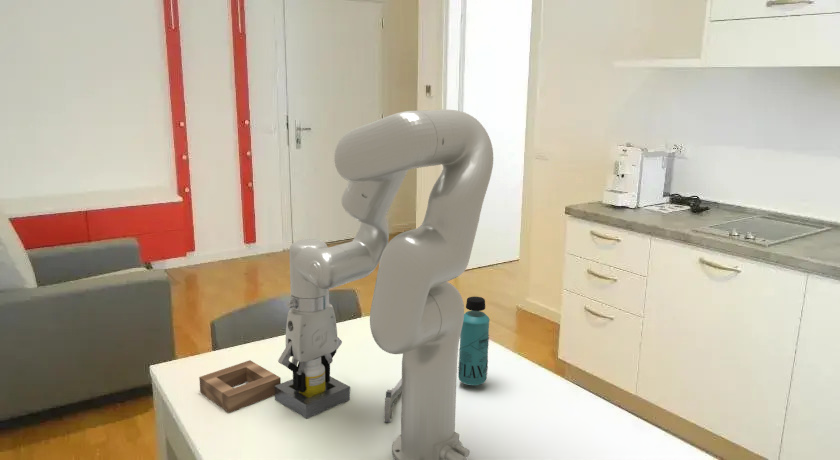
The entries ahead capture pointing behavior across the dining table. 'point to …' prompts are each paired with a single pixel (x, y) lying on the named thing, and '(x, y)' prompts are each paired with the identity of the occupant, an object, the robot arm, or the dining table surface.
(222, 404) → the block
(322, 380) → the supplement bottle
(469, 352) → the beverage bottle
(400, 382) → the caliper
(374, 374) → the dining table surface
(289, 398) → the socket block
